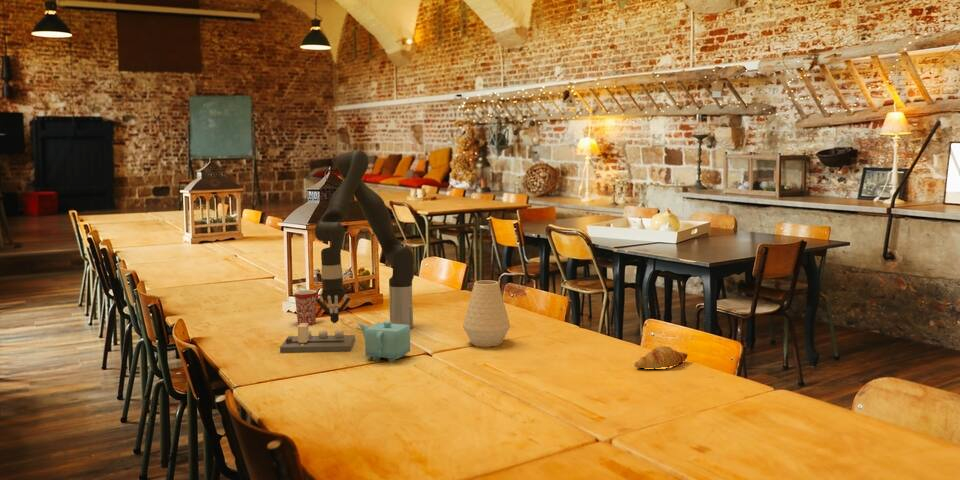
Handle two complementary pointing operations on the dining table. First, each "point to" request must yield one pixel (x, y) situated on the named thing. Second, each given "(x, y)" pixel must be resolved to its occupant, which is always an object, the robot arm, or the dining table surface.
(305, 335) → the block
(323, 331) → the console
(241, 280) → the dining table surface
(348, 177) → the robot arm
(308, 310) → the mug
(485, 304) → the vase
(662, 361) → the croissant
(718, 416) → the dining table surface
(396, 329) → the teapot
